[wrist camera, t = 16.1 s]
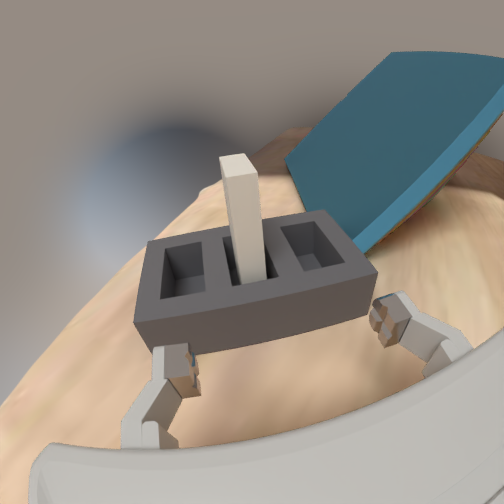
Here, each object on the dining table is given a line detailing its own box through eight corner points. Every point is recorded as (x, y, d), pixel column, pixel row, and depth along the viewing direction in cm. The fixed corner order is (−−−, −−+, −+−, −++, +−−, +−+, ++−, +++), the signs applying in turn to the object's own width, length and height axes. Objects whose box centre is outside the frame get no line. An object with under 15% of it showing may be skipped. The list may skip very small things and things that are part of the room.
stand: (161, 278, 30) (147, 241, 27) (322, 247, 32) (324, 209, 29) (156, 360, 21) (133, 322, 18) (367, 314, 23) (378, 272, 20)
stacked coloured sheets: (401, 323, 34) (551, 167, 19) (326, 262, 27) (520, 61, 12) (338, 207, 62) (435, 111, 47) (284, 159, 56) (391, 52, 40)
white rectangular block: (237, 274, 28) (219, 157, 21) (257, 270, 28) (244, 153, 21) (246, 310, 24) (225, 177, 17) (268, 306, 24) (257, 172, 17)
